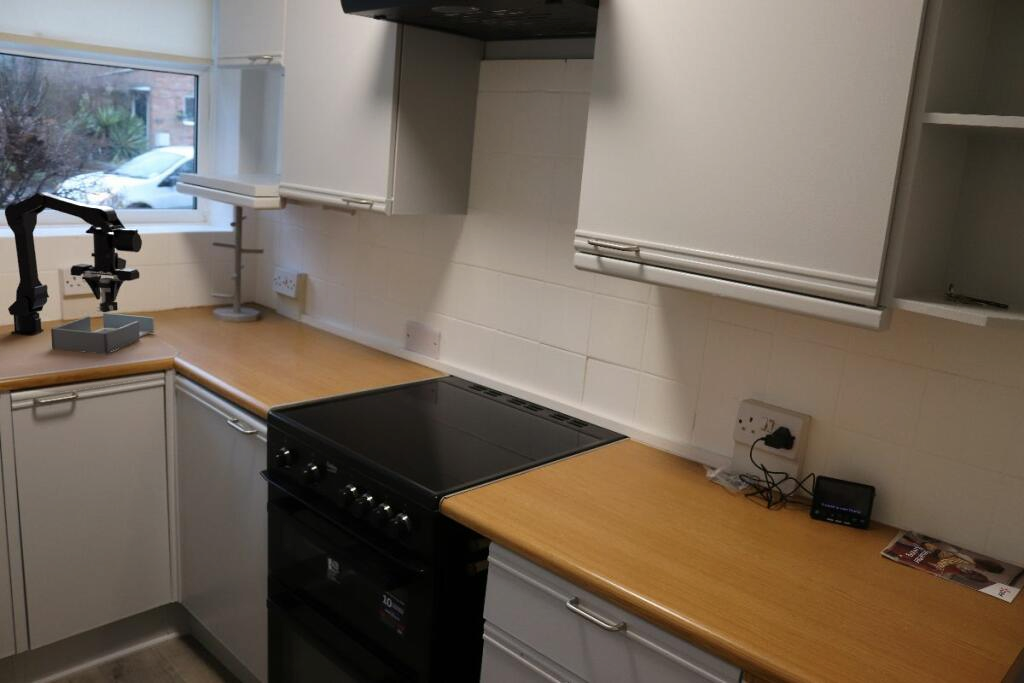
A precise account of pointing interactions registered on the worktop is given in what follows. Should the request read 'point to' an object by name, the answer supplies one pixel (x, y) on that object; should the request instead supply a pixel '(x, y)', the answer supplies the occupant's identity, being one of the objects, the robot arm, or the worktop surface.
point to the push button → (106, 296)
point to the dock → (92, 337)
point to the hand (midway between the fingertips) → (106, 300)
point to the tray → (126, 323)
